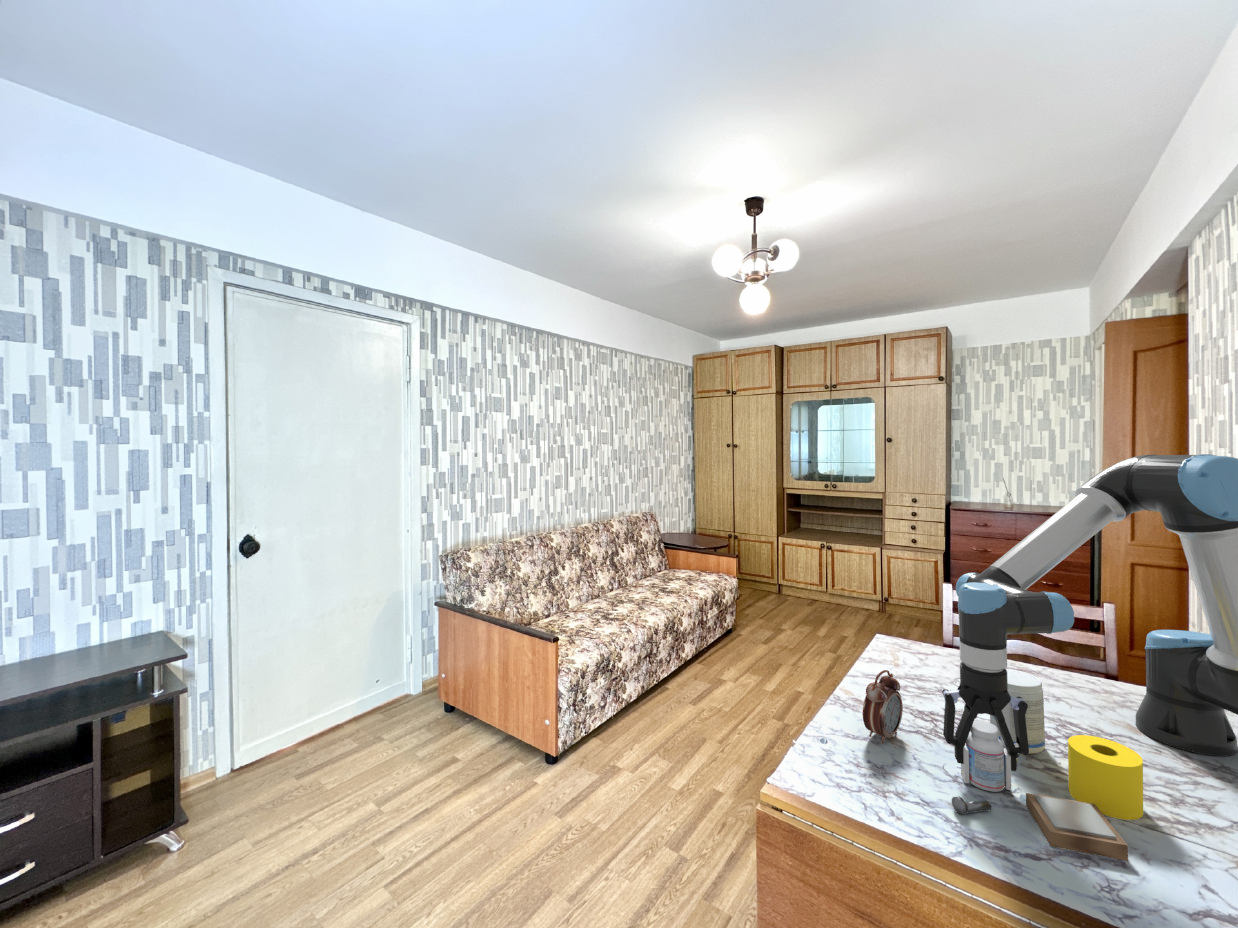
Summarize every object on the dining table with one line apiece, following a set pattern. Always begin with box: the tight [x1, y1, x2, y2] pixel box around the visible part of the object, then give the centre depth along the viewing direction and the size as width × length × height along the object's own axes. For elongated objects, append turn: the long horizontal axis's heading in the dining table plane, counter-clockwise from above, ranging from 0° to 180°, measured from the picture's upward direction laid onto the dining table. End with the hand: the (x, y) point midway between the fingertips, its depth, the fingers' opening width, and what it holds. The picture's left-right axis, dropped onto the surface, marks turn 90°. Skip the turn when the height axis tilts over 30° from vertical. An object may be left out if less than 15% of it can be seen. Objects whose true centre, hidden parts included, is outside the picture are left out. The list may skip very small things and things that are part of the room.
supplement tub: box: [989, 668, 1046, 755], centre depth 113 cm, size 10×10×15 cm
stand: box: [1025, 792, 1129, 862], centre depth 88 cm, size 10×10×3 cm
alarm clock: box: [862, 669, 904, 745], centre depth 118 cm, size 11×5×15 cm, turn 128°
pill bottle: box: [965, 719, 1006, 793], centre depth 100 cm, size 6×6×11 cm
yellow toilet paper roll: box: [1067, 734, 1144, 821], centre depth 95 cm, size 10×10×9 cm
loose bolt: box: [951, 795, 992, 815], centre depth 93 cm, size 6×3×3 cm, turn 95°
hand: (985, 781), depth 100 cm, fingers closed on pill bottle, 6 cm apart
